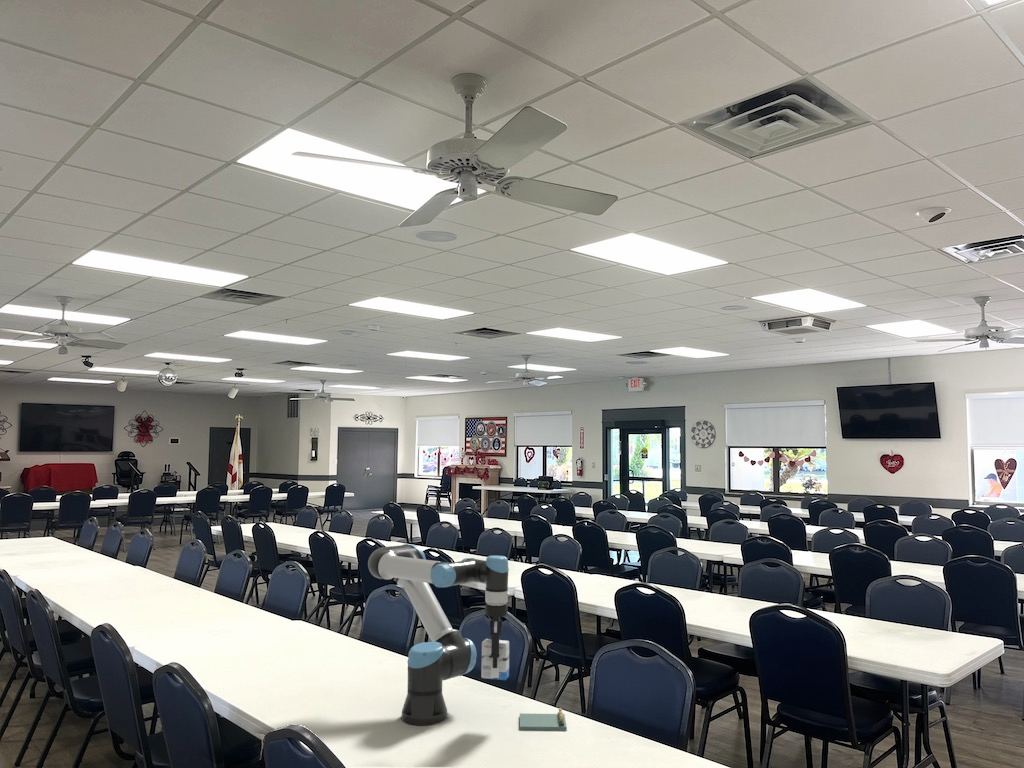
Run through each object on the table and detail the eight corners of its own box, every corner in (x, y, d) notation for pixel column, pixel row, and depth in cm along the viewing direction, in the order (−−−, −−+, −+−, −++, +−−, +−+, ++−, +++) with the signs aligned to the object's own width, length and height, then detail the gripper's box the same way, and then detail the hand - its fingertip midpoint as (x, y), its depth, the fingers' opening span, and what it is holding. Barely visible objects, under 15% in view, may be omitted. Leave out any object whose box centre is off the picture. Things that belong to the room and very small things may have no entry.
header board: (519, 729, 231) (519, 718, 231) (519, 716, 243) (519, 705, 243) (566, 730, 231) (566, 718, 231) (564, 717, 243) (564, 705, 243)
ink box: (509, 676, 241) (510, 640, 242) (505, 680, 236) (506, 643, 237) (485, 673, 243) (486, 637, 244) (480, 678, 239) (481, 641, 240)
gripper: (507, 609, 233) (505, 683, 230) (508, 597, 252) (506, 666, 249) (483, 609, 233) (482, 683, 231) (486, 597, 252) (485, 665, 249)
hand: (495, 674), depth 240 cm, fingers closed on ink box, 6 cm apart
